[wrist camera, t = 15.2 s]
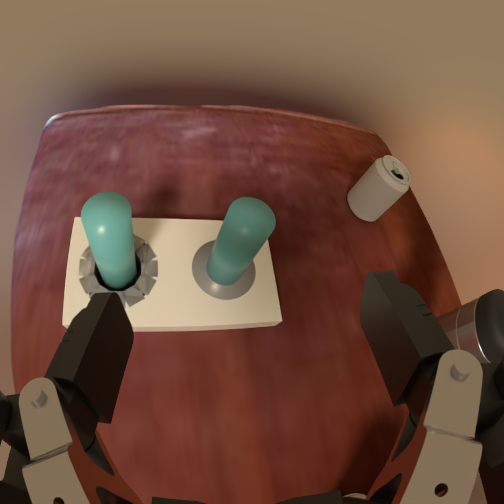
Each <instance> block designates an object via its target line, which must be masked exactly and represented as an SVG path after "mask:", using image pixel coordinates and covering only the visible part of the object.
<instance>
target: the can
mask: <svg viewBox="0 0 504 504" xmlns="http://www.w3.org/2000/svg"><path fill="white" fill-rule="evenodd" d="M410 182H411V176H410V173H409V171H408V170H407V169H406V167H405V166H404V165H403V163H401V162H400V161H399V160H398V159H396V158H395V157H393V156H390V155H386V156H384V157H383V158H378V159H377V160H376V161H375V162H374V163H373V164H372V165H371V167H370V168H369V169H368V170H367V171H366V172H365V174H364V175H363V176H362V177H361V178H360V179H359V181H358V182H357V183H356V184H355V185H354V186H353V188H352V189H351V190H350V191H349V193H348V196H347V199H348V203H349V206H350V208H351V210H352V212H353V213H354V214H355V215H356V216H357V217H359V218H360V219H362V220H366V221H370V222H372V221H375V220H376V219H378V218H379V217H380V216H381V215H382V214H383V213H384V212H385V211H386V210H387V209H388V208H389V207H391V206H392V205H393V204H394V203H395V202H396V201H397V200H398V199H399V198H400V197H401V196H402V195H403V194H404V193H405V192H406V191H407V190H408V188H409V183H410Z"/></svg>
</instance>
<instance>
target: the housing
mask: <svg viewBox="0 0 504 504" xmlns="http://www.w3.org/2000/svg"><path fill="white" fill-rule="evenodd" d="M222 224H223V221H219V220H193V219H161V218H132V229H133V241H134V251H135V260H136V261H137V263H138V265H139V266H140V268H141V275H140V277H139V279H138V280H137V282H136V284H135V285H134V286H132V287H130V288H128V289H127V290H125V291H109V290H107V289H106V288H104V287H102V286H101V285H99V283H98V270H99V269H98V267H97V264H96V261H95V259H94V256H93V253H92V251H91V248H90V245H89V242H88V239H87V236H86V233H85V230H84V227H83V224H82V221H81V217H75V220H74V225H73V231H72V237H71V243H70V249H69V256H68V264H67V273H66V282H65V293H64V307H63V325H64V326H65V327H66V328H67V329H68V327H69V325H70V323H71V321H72V319H73V318H74V317H75V316H76V315H77V314H78V313H79V312H80V311H81V310H82V309H83V308H86V307H87V305H88V303H89V301H90V299H91V297H92V296H93V294H94V293H101V292H116V293H118V295H119V296H120V299H121V301H122V304H123V306H124V308H125V311H126V313H127V316H128V318H129V320H130V323H131V325H132V328H133V331H197V330H220V329H238V328H253V327H266V326H275V325H277V324H278V323H280V322H281V321H282V316H281V310H280V305H279V299H278V293H277V287H276V282H275V276H274V271H273V265H272V259H271V254H270V248H269V243H268V239H267V240H266V242H265V243H264V245H263V246H262V247H261V249H260V250H259V252H258V253H257V255H256V256H255V257H254V259H253V260H252V262H251V263H250V265H249V266H248V267H247V269H246V270H245V272H244V273H243V275H242V276H241V277H240V279H239V280H238V281H237V282H236V283H234V284H232V285H227V286H226V285H220V284H217V283H216V282H214V281H213V280H212V279H211V278H210V277H209V275H208V273H207V270H206V264H207V261H208V258H209V256H210V253H211V251H212V248H213V246H214V243H215V241H216V238H217V236H218V233H219V231H220V229H221V226H222Z"/></svg>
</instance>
